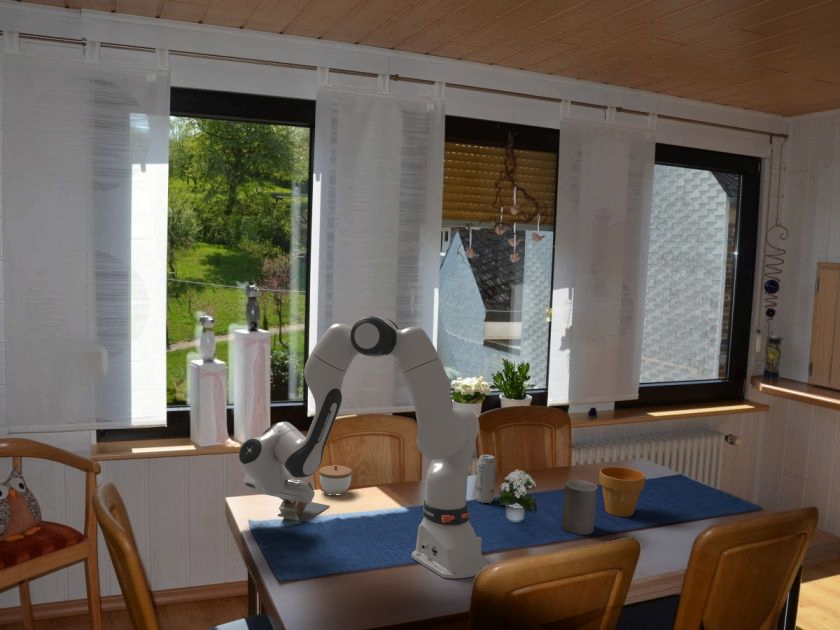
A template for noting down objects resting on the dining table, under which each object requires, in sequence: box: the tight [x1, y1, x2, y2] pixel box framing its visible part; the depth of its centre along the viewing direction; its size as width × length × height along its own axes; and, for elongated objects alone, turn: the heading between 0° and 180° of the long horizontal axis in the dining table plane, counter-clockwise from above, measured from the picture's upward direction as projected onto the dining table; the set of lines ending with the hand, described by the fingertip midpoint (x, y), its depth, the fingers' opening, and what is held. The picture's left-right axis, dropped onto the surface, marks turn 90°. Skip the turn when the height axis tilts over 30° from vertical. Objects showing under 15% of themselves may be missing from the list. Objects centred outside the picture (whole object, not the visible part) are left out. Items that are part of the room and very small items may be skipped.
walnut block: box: [278, 478, 315, 522], centre depth 222 cm, size 5×5×11 cm
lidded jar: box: [318, 464, 353, 496], centre depth 245 cm, size 11×11×9 cm
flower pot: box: [598, 466, 646, 518], centre depth 238 cm, size 14×14×13 cm
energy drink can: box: [475, 454, 497, 504], centre depth 243 cm, size 6×6×15 cm
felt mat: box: [277, 501, 330, 522], centre depth 227 cm, size 14×10×1 cm
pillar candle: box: [561, 479, 598, 536], centre depth 223 cm, size 10×10×15 cm
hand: (289, 500), depth 219 cm, fingers closed, pressing on walnut block
